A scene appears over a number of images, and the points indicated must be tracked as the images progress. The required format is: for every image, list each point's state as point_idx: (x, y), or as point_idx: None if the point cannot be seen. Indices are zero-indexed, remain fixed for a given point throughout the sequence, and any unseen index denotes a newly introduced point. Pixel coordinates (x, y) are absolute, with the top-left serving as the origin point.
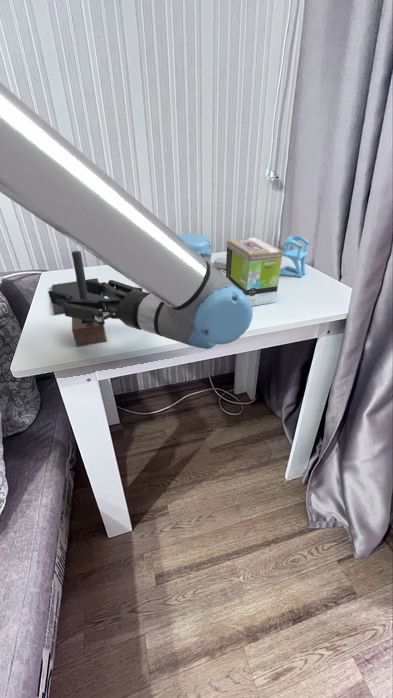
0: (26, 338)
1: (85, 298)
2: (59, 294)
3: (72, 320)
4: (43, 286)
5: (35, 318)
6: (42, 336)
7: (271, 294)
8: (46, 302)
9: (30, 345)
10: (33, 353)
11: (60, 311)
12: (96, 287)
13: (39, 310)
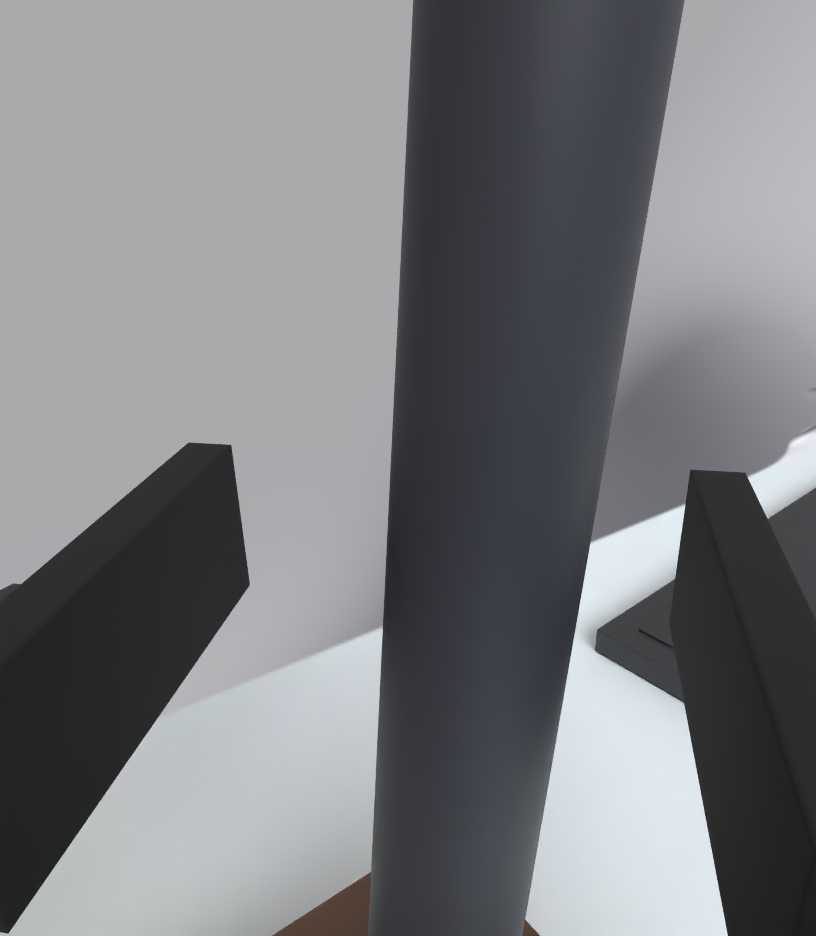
0: (254, 682)
1: (402, 890)
2: (74, 545)
3: (338, 898)
4: (809, 455)
5: None
6: (298, 749)
7: None
8: None
9: (162, 753)
10: None
11: (638, 656)
12: (782, 894)
13: (591, 562)
